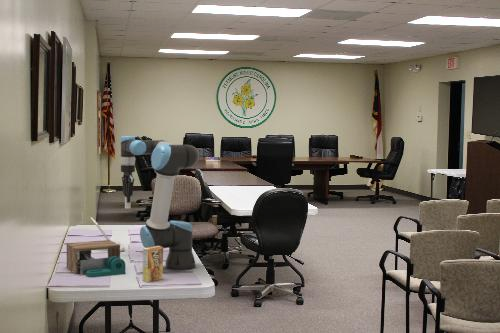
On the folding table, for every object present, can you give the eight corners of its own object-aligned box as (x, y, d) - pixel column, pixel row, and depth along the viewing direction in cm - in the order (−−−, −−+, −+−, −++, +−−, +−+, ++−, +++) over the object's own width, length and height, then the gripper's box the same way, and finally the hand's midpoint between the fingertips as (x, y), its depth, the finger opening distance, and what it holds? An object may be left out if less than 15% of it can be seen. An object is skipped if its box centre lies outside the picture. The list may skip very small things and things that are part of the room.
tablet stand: (92, 254, 357) (92, 223, 355) (86, 245, 380) (86, 216, 379) (125, 252, 363) (125, 222, 362) (117, 244, 386) (117, 215, 385)
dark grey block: (119, 270, 316) (119, 251, 316) (80, 274, 306) (80, 255, 306) (101, 259, 339) (101, 242, 339) (64, 263, 329) (64, 245, 329)
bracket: (120, 271, 317) (120, 255, 316) (125, 274, 311) (125, 258, 310) (84, 275, 307) (84, 259, 307) (88, 278, 302) (88, 261, 301)
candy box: (157, 277, 304) (157, 245, 303) (163, 279, 301) (163, 246, 300) (142, 280, 298) (142, 248, 297) (148, 282, 295) (148, 249, 294)
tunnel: (120, 269, 320) (120, 245, 319) (75, 274, 308) (75, 249, 307) (109, 263, 333) (109, 239, 332) (66, 267, 322) (66, 243, 321)
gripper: (139, 165, 343) (138, 209, 344) (130, 163, 354) (130, 206, 355) (125, 165, 339) (125, 210, 340) (117, 164, 350) (116, 207, 352)
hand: (127, 208), depth 348 cm, fingers closed
